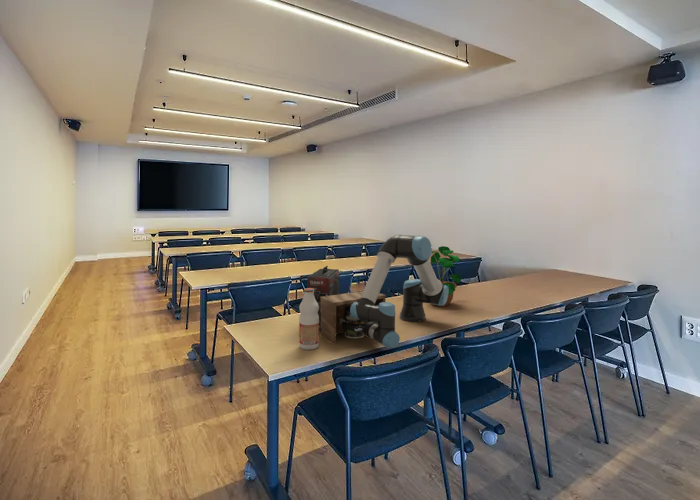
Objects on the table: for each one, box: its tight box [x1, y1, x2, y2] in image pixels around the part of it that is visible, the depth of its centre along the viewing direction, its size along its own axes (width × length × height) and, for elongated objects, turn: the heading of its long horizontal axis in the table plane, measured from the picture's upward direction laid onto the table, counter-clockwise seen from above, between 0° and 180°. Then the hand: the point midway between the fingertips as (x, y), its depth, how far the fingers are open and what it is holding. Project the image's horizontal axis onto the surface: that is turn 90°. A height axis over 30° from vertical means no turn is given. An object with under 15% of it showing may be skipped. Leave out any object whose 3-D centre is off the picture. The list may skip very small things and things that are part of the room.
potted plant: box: [430, 246, 462, 307], centre depth 259 cm, size 31×29×40 cm
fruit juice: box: [298, 288, 320, 351], centre depth 182 cm, size 9×9×28 cm
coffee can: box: [344, 306, 365, 340], centre depth 199 cm, size 10×10×14 cm
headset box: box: [306, 265, 340, 332], centre depth 216 cm, size 24×13×33 cm, turn 168°
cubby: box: [320, 290, 386, 345], centre depth 200 cm, size 31×14×20 cm, turn 121°
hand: (350, 319), depth 203 cm, fingers open, 11 cm apart
